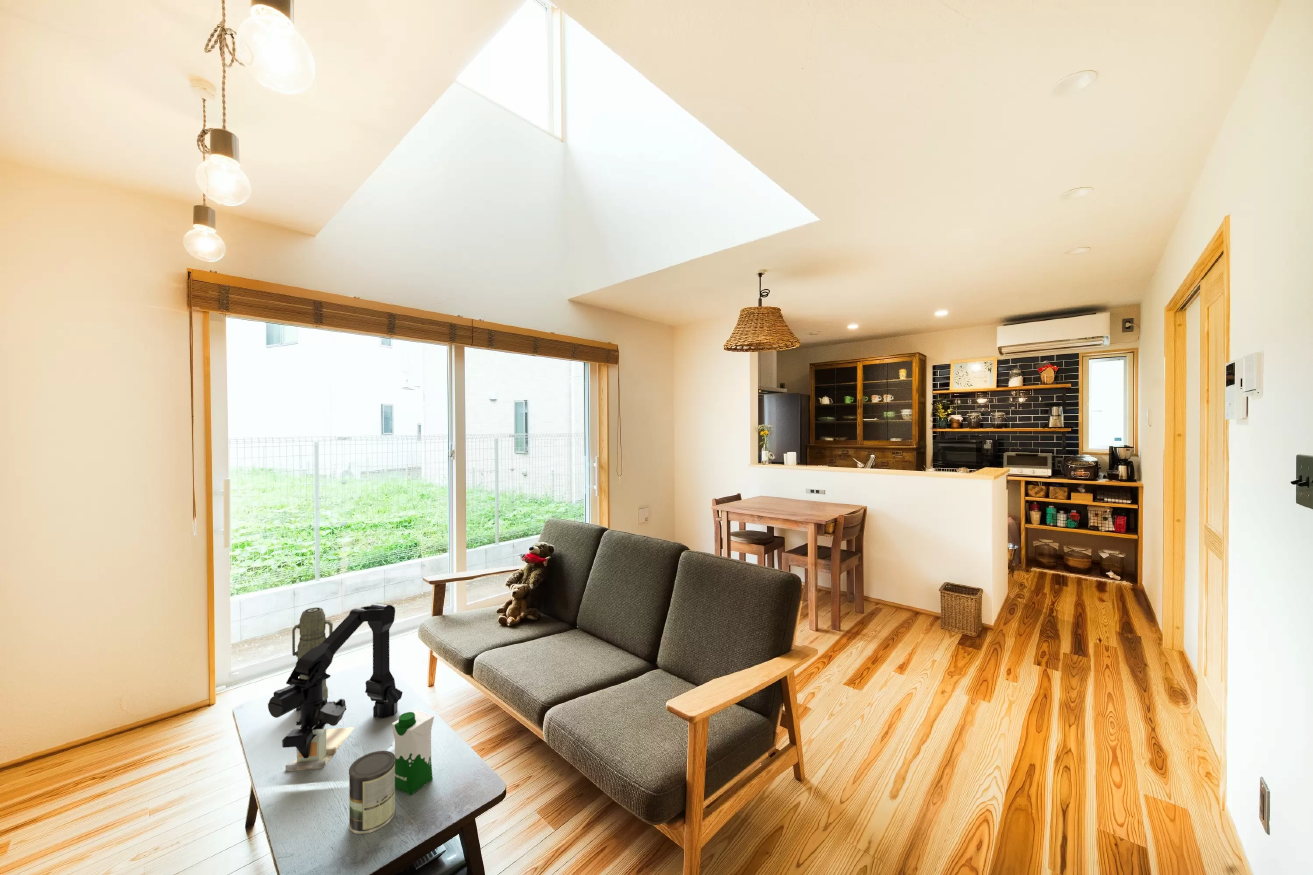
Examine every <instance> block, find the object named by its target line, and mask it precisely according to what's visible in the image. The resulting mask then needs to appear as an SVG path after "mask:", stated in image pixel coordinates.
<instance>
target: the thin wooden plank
mask: <svg viewBox="0 0 1313 875" xmlns="http://www.w3.org/2000/svg"><path fill="white" fill-rule="evenodd" d="M355 728H356V727H355V726H354V727H353V726H351V727H336V728H325V729H326V756H325V758H324V759H323V760H319V761H307V762H297V757H296V758H295V759H294V760H293V761H292V762H287V763H286V764H285V772H289V771H290V772H291V771H292V772H293V771H302V770H313V769H324V768H325V766H326V765H327V764H328V763H329V762H330V760H331V759H332V757H333V756H334V755H335V754H336V753H337V751H338V750H339V749H340V747H341V746H342V744H343V743H344V742H345V741H346V740H347V738H348V737H349V736H350V735H351V733H352V732H353V730H354V729H355Z"/></svg>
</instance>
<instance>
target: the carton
mask: <svg viewBox="0 0 1313 875" xmlns="http://www.w3.org/2000/svg"><path fill="white" fill-rule="evenodd" d="M326 729H327V728H324V729H315V730H313V735H314V734H317V735H316V736H315V737H314V738H313V740H312V741H311V747H310V754H309V757H308V758H304V757H303V756H302V755H301V753H300V752H299V751H298V749H297V748H296V758H297V762H307V761H319V760H323V759H324V758H325V756H326Z"/></svg>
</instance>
